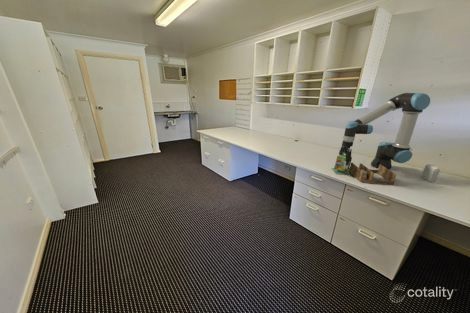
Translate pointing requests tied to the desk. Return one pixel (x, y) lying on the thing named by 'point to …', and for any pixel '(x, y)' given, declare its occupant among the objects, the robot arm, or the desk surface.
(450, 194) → the desk surface
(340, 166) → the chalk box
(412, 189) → the desk surface
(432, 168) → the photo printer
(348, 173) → the cutting mat
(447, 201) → the desk surface
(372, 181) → the rack
